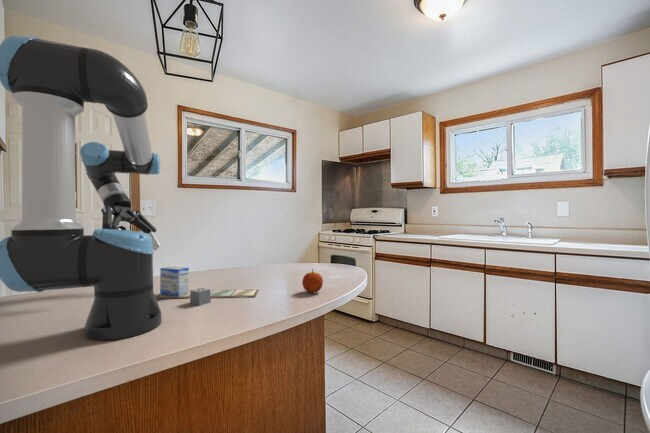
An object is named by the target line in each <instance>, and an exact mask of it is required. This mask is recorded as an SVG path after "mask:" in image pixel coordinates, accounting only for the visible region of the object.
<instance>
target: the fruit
mask: <svg viewBox="0 0 650 433" xmlns="http://www.w3.org/2000/svg"><path fill="white" fill-rule="evenodd" d="M323 280H324V279H323V276H322V275H321V274H320V273H319V272H315V271H314V268H312V270H311V271H310V272H307V273H306V274H304V276H303V278H302V282H301V283H302V287H303V289H304V291H306V292H308V293H309V292H311V293H310V294H315V293H314V292H316V293H317V291H318V292H319V291H320V290H321V289H322V287H323V285H324V284H323V283H324V282H323Z"/></svg>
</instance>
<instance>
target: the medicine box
mask: <svg viewBox="0 0 650 433" xmlns="http://www.w3.org/2000/svg"><path fill="white" fill-rule="evenodd" d="M159 272H160V274H159V276H160V282H159V286H160V288H159V292H160V293H159V294H160V295H172V296H181V295H184V294H187V293H189V289H190V285H189V284H190V283H189V281H190V277H189V276H190V275H189V273H190V270H189V267H182V266H181V267H179V266H164V267H161V268H160V270H159Z"/></svg>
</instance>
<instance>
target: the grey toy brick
mask: <svg viewBox="0 0 650 433" xmlns="http://www.w3.org/2000/svg"><path fill="white" fill-rule="evenodd" d="M191 290H192V289H191ZM210 290H211V289H209V288H205V287H204V288H203V287H200V288H196V289H193V290H192V291H190V298H189V300H190V302H189V304H190V305H193V306H198V307H201V306H204V305H207V304H210V303H211V298H210Z"/></svg>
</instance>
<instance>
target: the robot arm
mask: <svg viewBox="0 0 650 433" xmlns="http://www.w3.org/2000/svg"><path fill="white" fill-rule="evenodd" d="M0 84H1V85H2V87H3V88H4V89H5V90H7V91H8V92H10V93H11V97H12V99H13V100H14V102H16V103H17V104H18V105H19V106H21V108H22V112H21V114H22V117H21V118H22V126H21V130H22V132H21V134H22V136H21V137H22V139H21V141H22V143H21V144H22V146H21V147H22V148H21V149H22V150H21V152H22V153H21V155H22V157H21V163H22V164H21V166H22V167H21V170H22V171H21V177H22V178H21V221H20V222H18V223H17V224H16V225H15V226H13V227H12V228H11V233H10V234H11V235H10V236H7V237H4V238H3V239H2V240H0V280H1V282H2V283H3V285H5V287H7V288H8V289H9V290H11V291H13V292H18V293H23V292H24V293H25V292H28V293H29V292H37V293H40V292H45V291H53V290H54V291H55V290H64V289H78V288H88V287H93V293H94V300H93V302H92V305H91V308H90V311H89V313H88V316H87V318H86V322H85V324H84V336H85V337H86V338H88V339H90V340H94V341H110V340H111V341H112V340H118V339H119V340H120V339H126V338H130V337H135V336H140V335H142V334H144V333H148V332H149V331H152V330H154V329H155V328H157V327H159V326H160V325H161V324H162V322H163V321H162V319H163V318H162V311H161V308H160V305H159V303H158V299H156V298H157V297H156V295H155V293H154V267H153V266H154V265H153V264H154V261H153V259H154V258H153V257H154V255H153V254H155V253H154V252H155V251H157V250H158V249H159V248H161V247H162V246H161V244H160V242H159V240H158V238H157V236H156V235H155V233H156V232H157V231H158V230H157V228H156V227H155V226H154V225H153V224H152V223H151V222H150V221H149V220H148V219H147V218H146V217H144V215H143V214H142V212H141V211H140V210H136V211H134V210H133V209H132V208H131V207H132V202H131V200H130V199H129V197H128V195H127V193H126V191H125V190H124V188H123V186H122V185H121V183H120V181H119V179H118V178H117V175H116V174H132V175H133V174H134V175H159V174H160V171H161V157H160V155H159V154H158V153H154V152H152V146H151V140H150V134H149V128H148V124H147V117H146V112H147V110H148V99H147V98H148V97H147V94H146V91H145V89H144V87H143V85H142V84H141V83H140V81H139V80H138V78H137V77H136V75H135V73H133V72H132V71H131V69H129V67H127V66H126V65H125V64H124V63H122V62H121V61H120V60H119V59H117V58H115V57H114V56H112V55H110V54H109V53H107V52H105V51H102V50H99V49H95V48H90V47H89V48H88V47H84V46H83V47H82V46H77V45H72V44H67V43H62V42H57V41H52V40H51V41H50V40H46V39H42V38H39V37H35V36H32V37H28V36H23V35H21V36H20V35H10V36H9V37H6V38H4V39H3V40H2V41H1V43H0ZM85 103H92V104H101V105H104V106H105V108H106V109H107V110H108V112H109V113H110V114H112V116H113V119H114V122H115V125H116V128H117V132H118V135H119V138H120V141H121V144H122V147H123V150H113V149H109V148H108V147H107V146H106V145H104V144H103V143H101V142H98V141H91V142H87V143H84V144H83V145H82V146H81V147H80V149H79V155H80V157H81V162H82V164H83V165H84V168H85V172H86V175H87V178H88V180H90V182H91V185H93V188H94V190H95V191H96V193H97V194H98V197H99V198H100V200H101V202H102V204H103V206H104V207H103V208H101V209H100V211H101V213H102V221H101V222H102V223H101V225H102V226H101V228H96V229H94V231H93V232H92V235H89V234H88V235H86V234H85V230H84V229H85V228H84V226H83V225H81V224H80V223H79V222H77V220H76V117H77V116H78V115H80V114H82V113H83V112H84V110H85V105H84V104H85ZM121 222H125V223H128V224H130V225H134V226H135V227H136V228H137V229H139V230H140V231H137V230H129V229H127V230H125V229H121V228H119V225H120V223H121Z"/></svg>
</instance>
